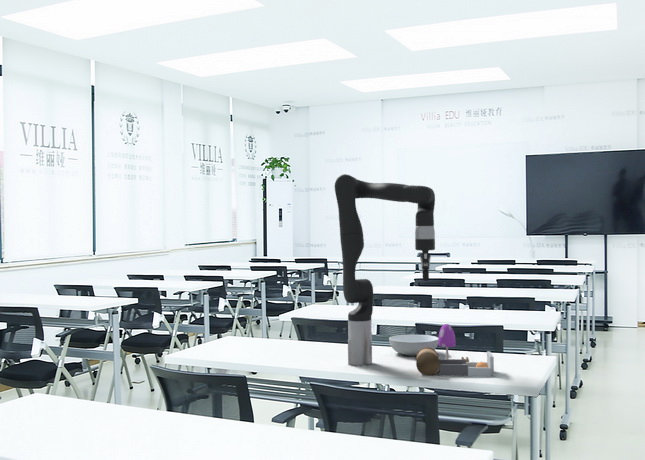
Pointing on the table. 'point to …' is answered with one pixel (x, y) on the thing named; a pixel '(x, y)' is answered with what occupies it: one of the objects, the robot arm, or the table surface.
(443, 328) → the toy
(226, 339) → the table surface
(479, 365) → the ball
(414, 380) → the table surface
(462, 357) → the tee
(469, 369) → the grey piece
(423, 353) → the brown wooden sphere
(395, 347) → the serving bowl
